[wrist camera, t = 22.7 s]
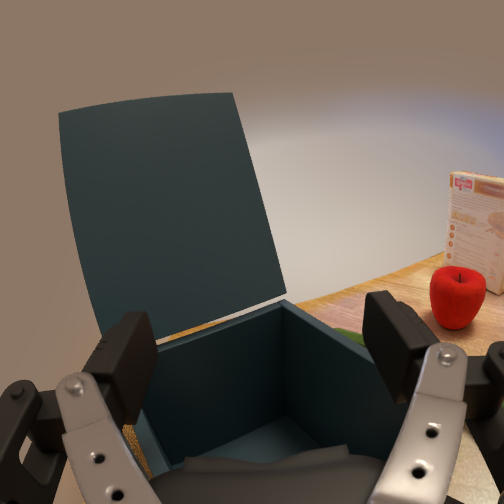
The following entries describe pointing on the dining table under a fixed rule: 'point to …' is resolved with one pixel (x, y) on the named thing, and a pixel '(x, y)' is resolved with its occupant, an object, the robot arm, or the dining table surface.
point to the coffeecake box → (477, 226)
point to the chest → (265, 393)
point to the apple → (456, 295)
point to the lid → (167, 211)
